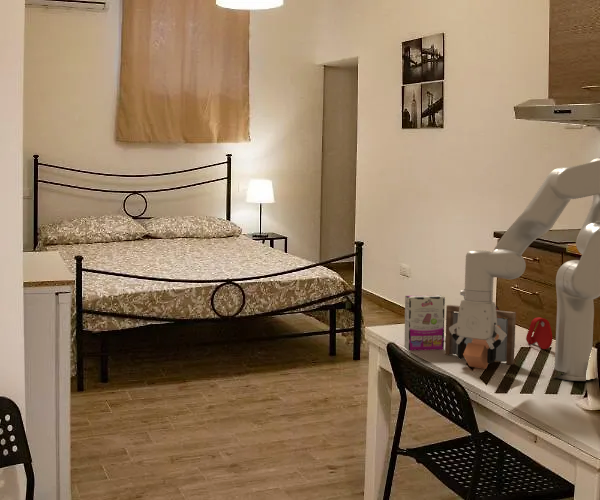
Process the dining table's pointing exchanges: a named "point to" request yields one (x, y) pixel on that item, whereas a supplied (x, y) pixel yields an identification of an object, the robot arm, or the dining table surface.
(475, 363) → the orange stepped block
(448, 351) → the brown door frame
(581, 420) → the dining table surface
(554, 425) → the dining table surface
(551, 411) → the dining table surface
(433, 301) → the candy bar box
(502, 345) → the door
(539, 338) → the tracker holder
